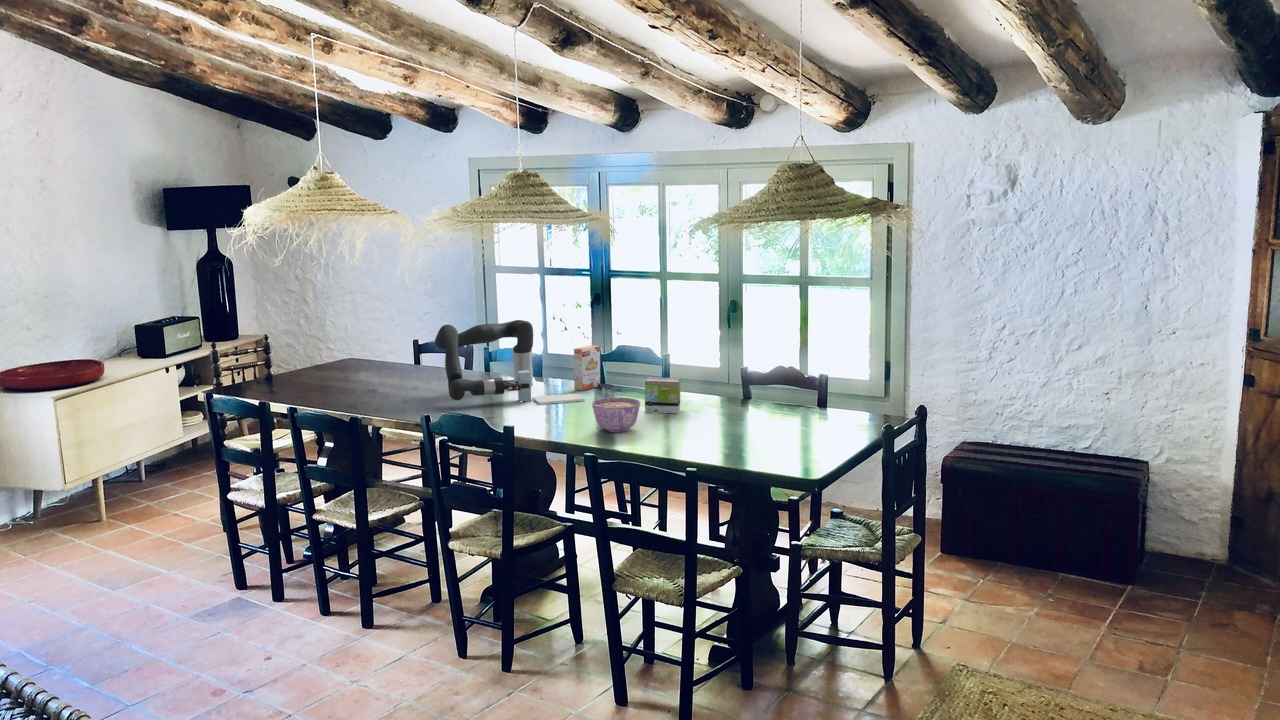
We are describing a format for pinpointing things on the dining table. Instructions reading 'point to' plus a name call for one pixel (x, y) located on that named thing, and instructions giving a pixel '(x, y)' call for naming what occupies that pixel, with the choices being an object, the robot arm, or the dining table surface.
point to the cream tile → (558, 398)
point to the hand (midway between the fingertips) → (527, 384)
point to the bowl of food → (616, 413)
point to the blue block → (523, 379)
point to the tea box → (662, 395)
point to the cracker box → (586, 367)
